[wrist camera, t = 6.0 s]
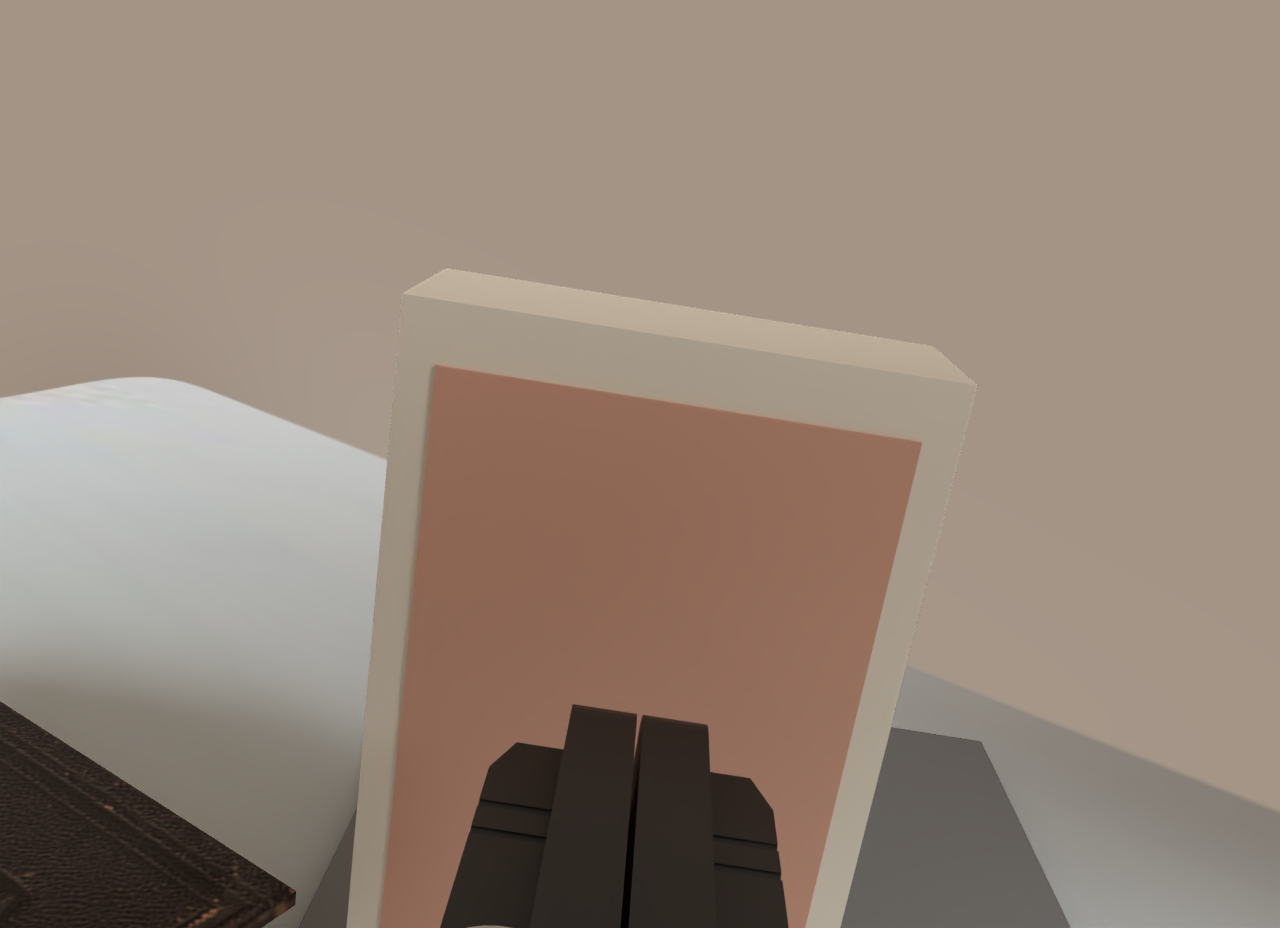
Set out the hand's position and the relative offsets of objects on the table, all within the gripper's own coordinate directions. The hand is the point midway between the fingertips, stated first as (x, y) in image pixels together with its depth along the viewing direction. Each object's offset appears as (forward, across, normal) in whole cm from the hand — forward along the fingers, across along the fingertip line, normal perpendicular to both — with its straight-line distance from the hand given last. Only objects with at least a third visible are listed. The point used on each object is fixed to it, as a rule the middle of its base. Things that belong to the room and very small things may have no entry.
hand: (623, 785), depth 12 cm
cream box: (+4, 0, +8) cm, 8 cm away
